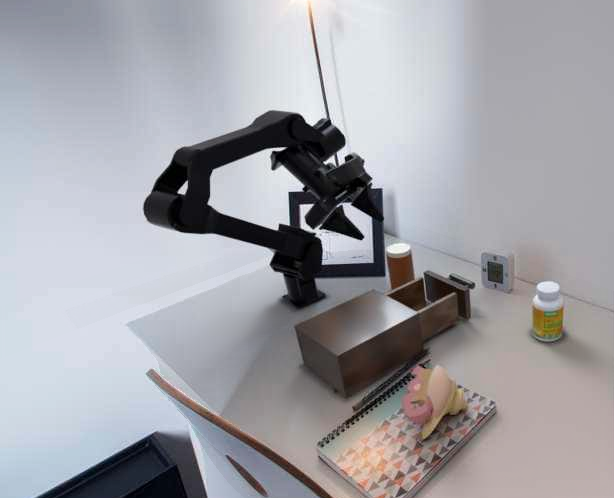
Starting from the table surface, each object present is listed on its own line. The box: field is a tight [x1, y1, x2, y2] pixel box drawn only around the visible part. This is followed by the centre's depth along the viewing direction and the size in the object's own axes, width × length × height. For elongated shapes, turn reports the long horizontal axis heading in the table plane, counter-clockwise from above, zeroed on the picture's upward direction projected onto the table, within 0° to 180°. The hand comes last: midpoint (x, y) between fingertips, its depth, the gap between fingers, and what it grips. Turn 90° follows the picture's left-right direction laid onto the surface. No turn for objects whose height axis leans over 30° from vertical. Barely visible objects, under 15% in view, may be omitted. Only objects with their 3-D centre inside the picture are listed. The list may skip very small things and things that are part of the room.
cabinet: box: [293, 288, 425, 399], centre depth 88 cm, size 16×13×8 cm
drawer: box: [383, 269, 476, 342], centre depth 97 cm, size 19×11×6 cm, turn 137°
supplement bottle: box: [531, 280, 565, 343], centre depth 93 cm, size 5×5×10 cm
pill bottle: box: [385, 242, 416, 291], centre depth 107 cm, size 5×5×10 cm
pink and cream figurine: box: [401, 364, 469, 440], centre depth 75 cm, size 9×10×10 cm
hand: (373, 229), depth 104 cm, fingers open, 9 cm apart
